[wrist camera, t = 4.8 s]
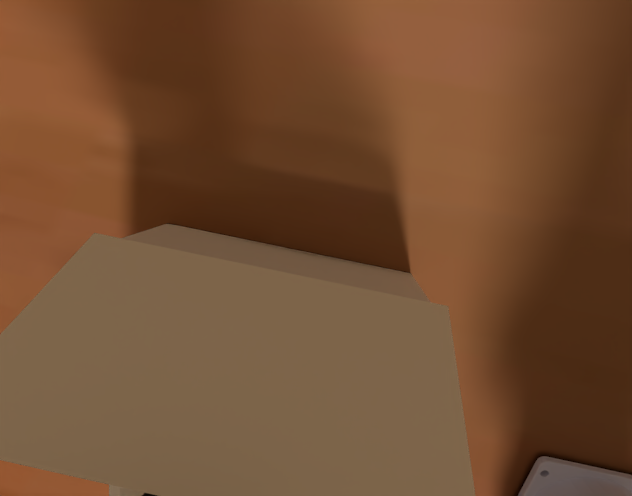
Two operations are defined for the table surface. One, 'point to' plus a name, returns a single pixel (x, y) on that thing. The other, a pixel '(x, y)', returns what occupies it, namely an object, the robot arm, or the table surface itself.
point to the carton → (276, 268)
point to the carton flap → (230, 381)
